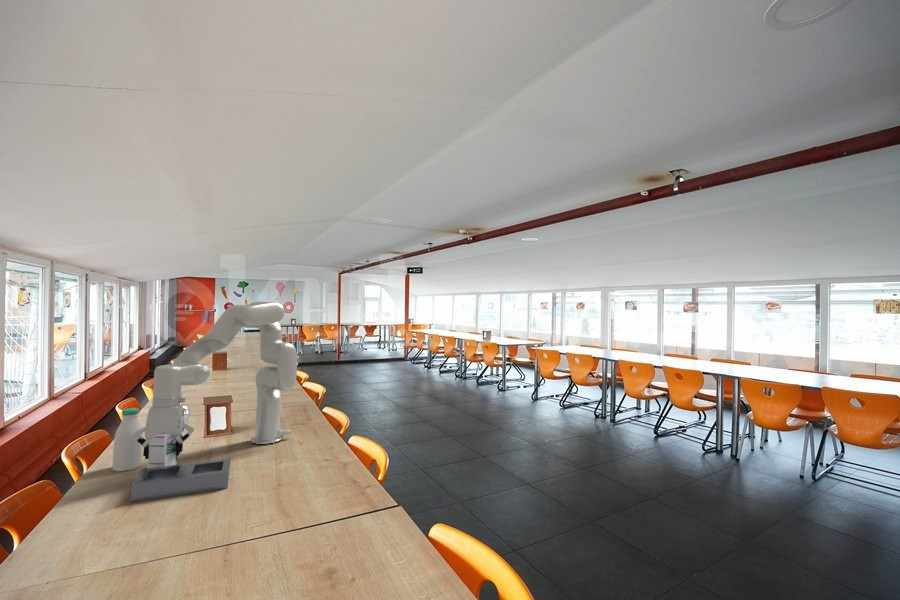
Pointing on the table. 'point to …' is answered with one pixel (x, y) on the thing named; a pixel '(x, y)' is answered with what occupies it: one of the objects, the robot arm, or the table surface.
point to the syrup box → (162, 451)
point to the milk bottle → (127, 442)
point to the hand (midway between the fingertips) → (163, 455)
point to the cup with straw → (186, 411)
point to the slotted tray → (180, 479)
